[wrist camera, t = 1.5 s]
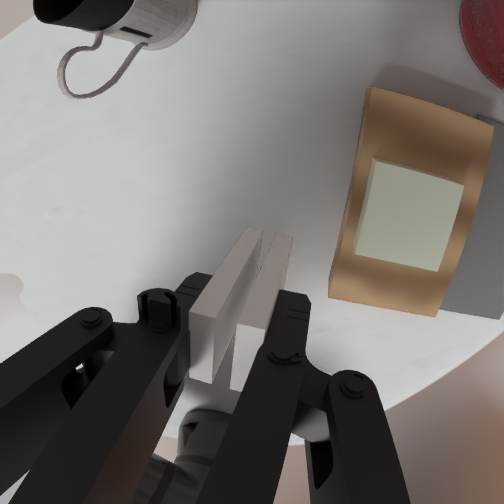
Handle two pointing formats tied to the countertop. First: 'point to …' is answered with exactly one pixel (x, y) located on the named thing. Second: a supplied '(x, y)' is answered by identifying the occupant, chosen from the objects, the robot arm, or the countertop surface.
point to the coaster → (406, 215)
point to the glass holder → (118, 26)
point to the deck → (423, 158)
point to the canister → (485, 36)
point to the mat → (483, 244)
